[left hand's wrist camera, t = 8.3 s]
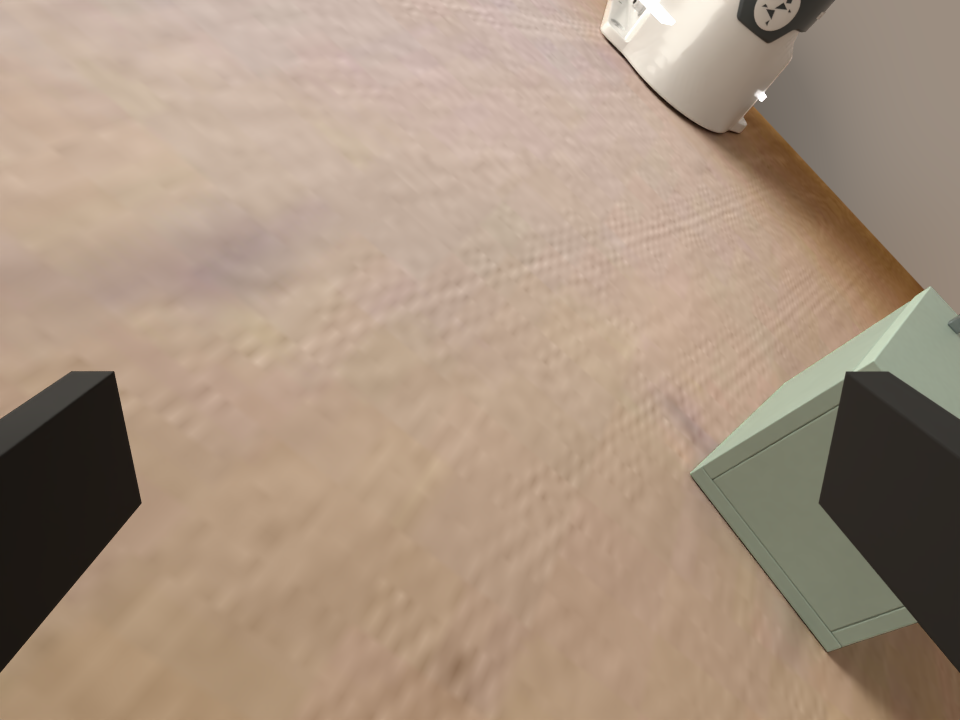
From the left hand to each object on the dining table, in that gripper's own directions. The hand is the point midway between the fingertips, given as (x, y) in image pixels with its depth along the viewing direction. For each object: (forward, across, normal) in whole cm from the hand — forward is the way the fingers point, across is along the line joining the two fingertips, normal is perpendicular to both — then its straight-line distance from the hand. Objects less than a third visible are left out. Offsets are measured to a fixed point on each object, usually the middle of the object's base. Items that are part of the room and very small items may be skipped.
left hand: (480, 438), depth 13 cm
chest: (+20, +17, -14) cm, 30 cm away
